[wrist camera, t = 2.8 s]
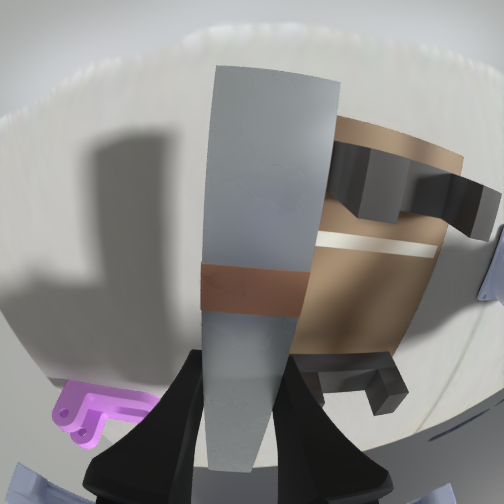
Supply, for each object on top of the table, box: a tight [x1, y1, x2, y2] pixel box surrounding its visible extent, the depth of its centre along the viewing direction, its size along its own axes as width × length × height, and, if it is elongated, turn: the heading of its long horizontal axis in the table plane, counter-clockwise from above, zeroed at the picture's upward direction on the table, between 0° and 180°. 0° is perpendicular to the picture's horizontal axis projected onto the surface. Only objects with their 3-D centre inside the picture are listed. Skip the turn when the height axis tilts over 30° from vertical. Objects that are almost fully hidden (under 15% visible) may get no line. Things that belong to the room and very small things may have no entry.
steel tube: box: [201, 66, 340, 472], centre depth 11 cm, size 3×22×3 cm, turn 174°
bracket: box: [52, 380, 160, 449], centre depth 23 cm, size 13×6×7 cm, turn 94°
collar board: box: [289, 116, 502, 416], centre depth 16 cm, size 11×22×6 cm, turn 174°
